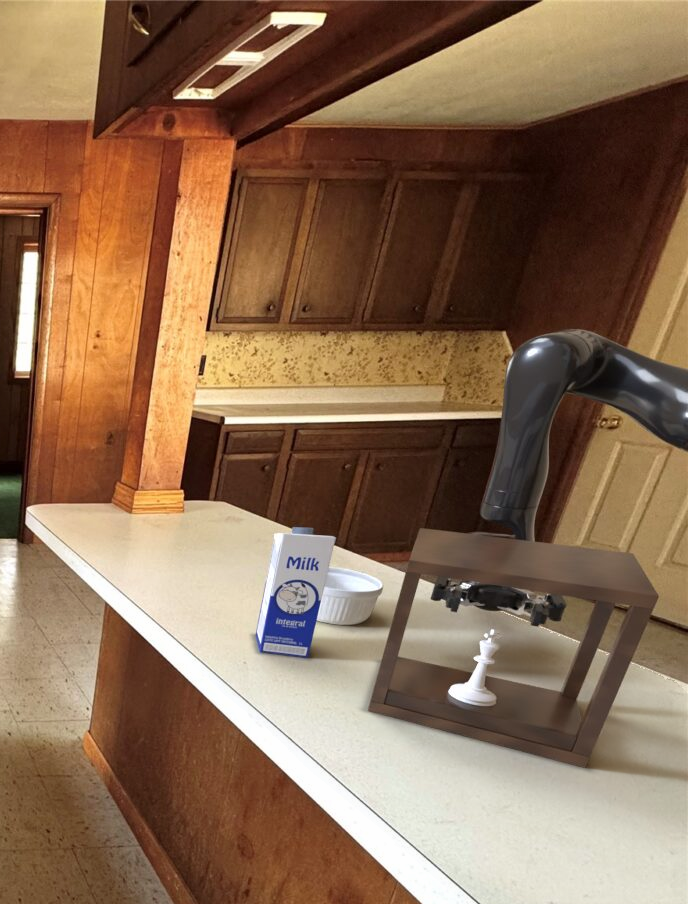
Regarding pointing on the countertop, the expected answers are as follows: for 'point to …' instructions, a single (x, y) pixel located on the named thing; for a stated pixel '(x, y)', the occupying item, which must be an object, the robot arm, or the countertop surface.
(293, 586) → the milk carton
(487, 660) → the chess piece
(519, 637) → the countertop surface
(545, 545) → the rack
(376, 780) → the countertop surface
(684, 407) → the robot arm
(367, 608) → the ramekin
